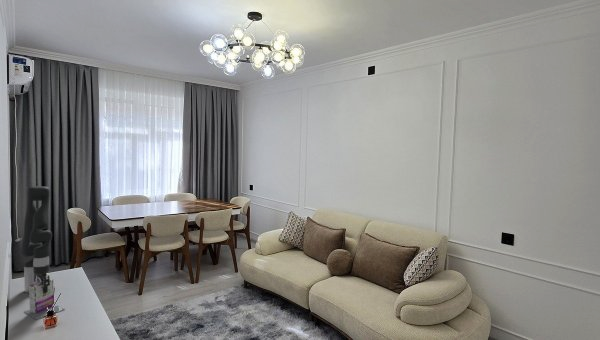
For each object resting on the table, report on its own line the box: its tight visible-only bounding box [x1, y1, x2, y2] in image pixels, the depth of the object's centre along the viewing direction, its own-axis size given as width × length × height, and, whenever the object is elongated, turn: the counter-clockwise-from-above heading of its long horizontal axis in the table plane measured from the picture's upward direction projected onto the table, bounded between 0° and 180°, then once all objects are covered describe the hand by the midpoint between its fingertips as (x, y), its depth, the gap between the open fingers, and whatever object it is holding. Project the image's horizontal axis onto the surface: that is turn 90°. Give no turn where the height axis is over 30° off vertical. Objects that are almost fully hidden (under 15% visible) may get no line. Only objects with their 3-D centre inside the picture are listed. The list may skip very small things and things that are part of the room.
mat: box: [24, 305, 65, 321], centre depth 194 cm, size 16×14×1 cm
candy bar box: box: [28, 278, 55, 313], centre depth 195 cm, size 11×5×16 cm, turn 166°
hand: (41, 290), depth 195 cm, fingers open, 8 cm apart
